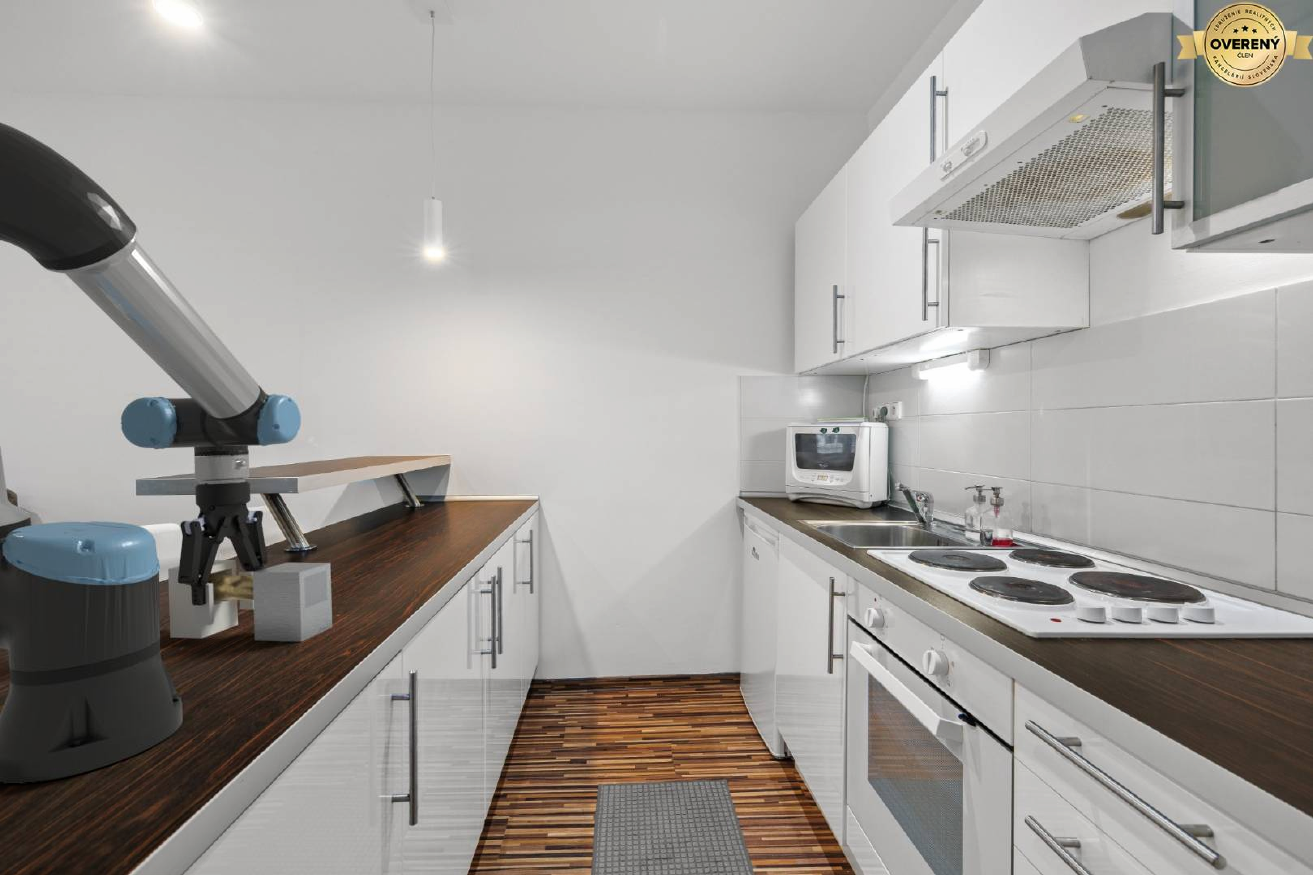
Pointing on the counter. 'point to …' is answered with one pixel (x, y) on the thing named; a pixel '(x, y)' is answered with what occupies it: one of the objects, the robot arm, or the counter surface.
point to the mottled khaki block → (232, 587)
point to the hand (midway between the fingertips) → (227, 615)
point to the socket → (185, 610)
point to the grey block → (292, 601)
